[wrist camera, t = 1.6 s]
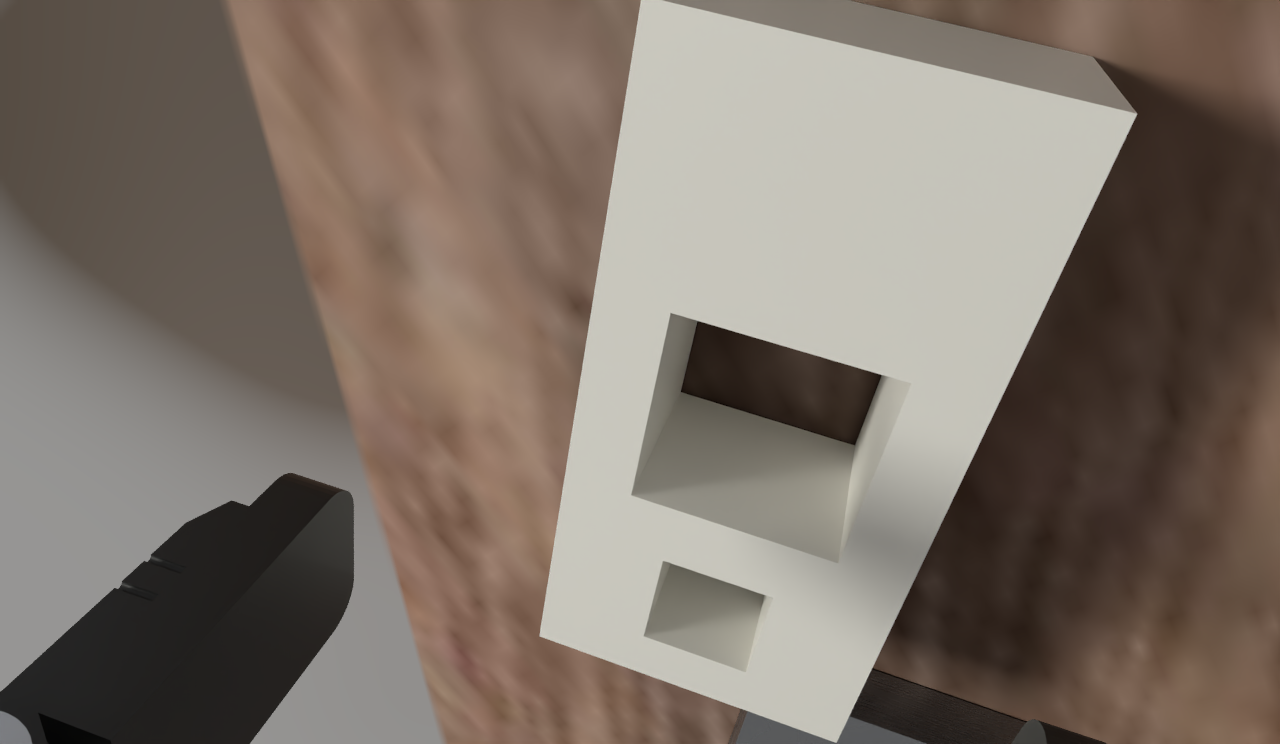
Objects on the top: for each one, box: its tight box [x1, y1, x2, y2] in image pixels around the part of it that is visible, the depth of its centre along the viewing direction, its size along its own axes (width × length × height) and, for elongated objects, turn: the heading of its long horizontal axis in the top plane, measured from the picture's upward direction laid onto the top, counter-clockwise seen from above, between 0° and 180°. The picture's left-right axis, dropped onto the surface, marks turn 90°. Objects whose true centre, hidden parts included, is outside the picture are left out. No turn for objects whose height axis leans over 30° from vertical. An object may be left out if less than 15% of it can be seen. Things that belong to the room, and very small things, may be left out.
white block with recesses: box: [539, 0, 1137, 743], centre depth 15 cm, size 12×6×4 cm, turn 168°
